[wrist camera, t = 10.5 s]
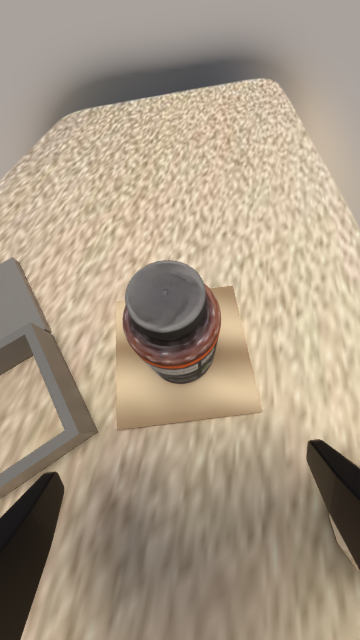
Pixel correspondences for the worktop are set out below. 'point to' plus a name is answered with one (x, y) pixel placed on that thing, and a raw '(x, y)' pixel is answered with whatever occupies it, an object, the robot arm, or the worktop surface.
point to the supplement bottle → (172, 320)
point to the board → (195, 397)
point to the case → (35, 339)
